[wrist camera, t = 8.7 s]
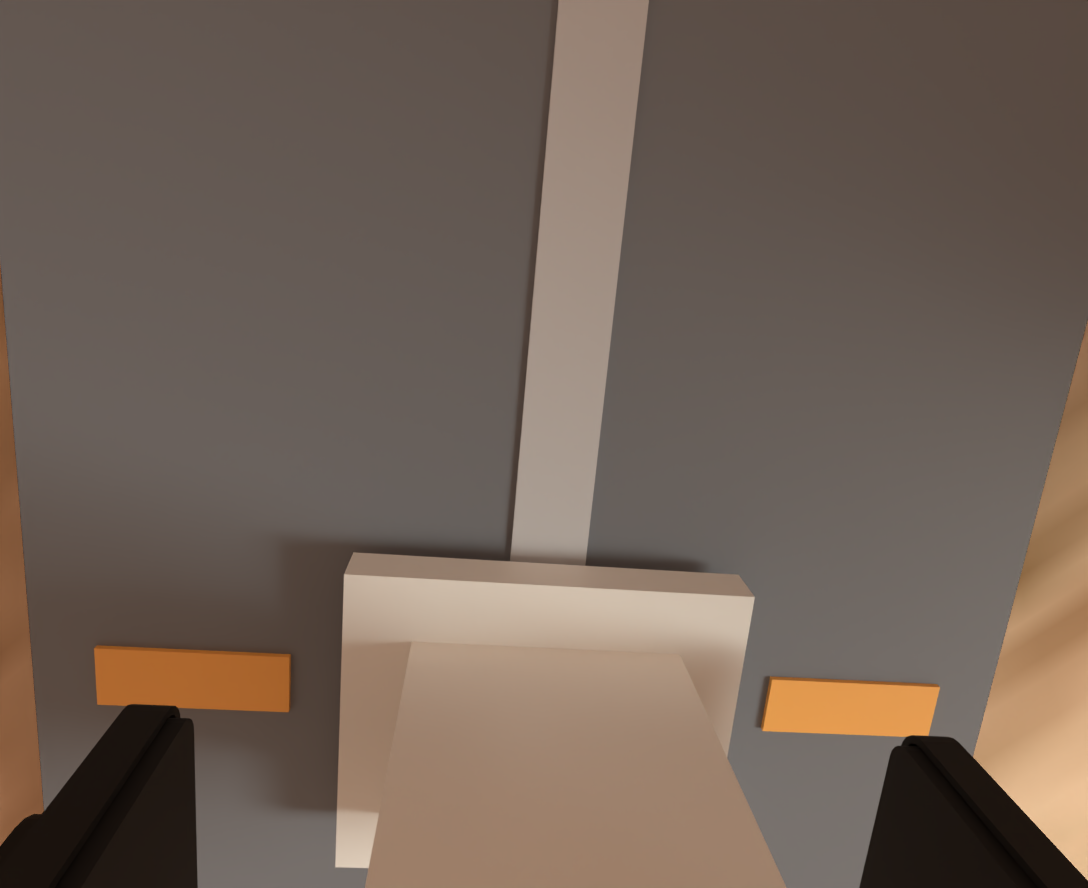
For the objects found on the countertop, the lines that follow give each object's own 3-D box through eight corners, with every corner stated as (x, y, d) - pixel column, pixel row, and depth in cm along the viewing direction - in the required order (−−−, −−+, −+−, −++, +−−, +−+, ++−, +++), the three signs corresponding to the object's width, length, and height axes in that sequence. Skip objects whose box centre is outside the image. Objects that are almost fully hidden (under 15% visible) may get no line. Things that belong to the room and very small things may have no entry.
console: (1142, -452, 12) (1355, -677, 9) (842, 881, 18) (911, 1005, 15) (59, -654, 11) (-106, -995, 8) (131, 864, 17) (55, 999, 14)
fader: (738, 574, 12) (943, 852, 7) (694, 839, 14) (836, 1258, 8) (353, 552, 12) (232, 833, 6) (344, 830, 13) (236, 1271, 8)
